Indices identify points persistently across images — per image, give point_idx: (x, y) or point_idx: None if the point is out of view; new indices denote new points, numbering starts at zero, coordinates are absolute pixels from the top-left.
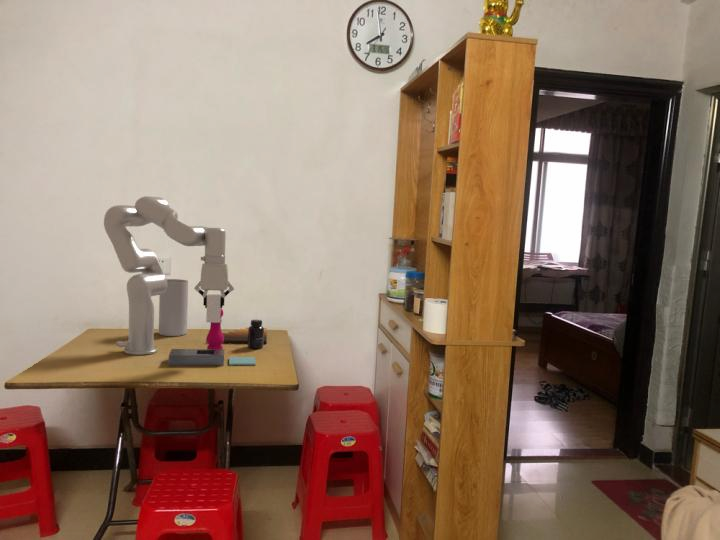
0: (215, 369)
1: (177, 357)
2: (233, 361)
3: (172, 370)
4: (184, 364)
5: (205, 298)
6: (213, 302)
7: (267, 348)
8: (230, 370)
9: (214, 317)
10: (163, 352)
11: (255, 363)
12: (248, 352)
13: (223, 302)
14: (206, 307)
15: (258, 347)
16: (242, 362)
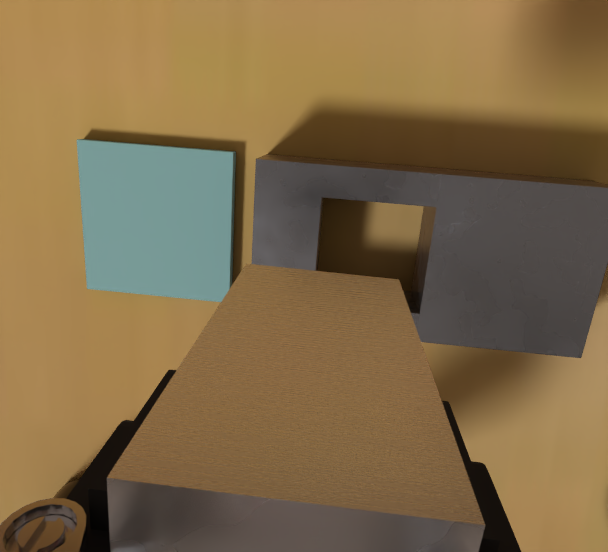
0: (319, 67)
1: (561, 182)
2: (206, 200)
3: (584, 65)
4: (499, 173)
5: (491, 521)
6: (307, 402)
7: (35, 485)
8: (230, 34)
9: (303, 289)
10: (576, 470)
11: (78, 140)
12: None
13: (114, 448)
14: None
15: (74, 482)
16: (154, 170)
